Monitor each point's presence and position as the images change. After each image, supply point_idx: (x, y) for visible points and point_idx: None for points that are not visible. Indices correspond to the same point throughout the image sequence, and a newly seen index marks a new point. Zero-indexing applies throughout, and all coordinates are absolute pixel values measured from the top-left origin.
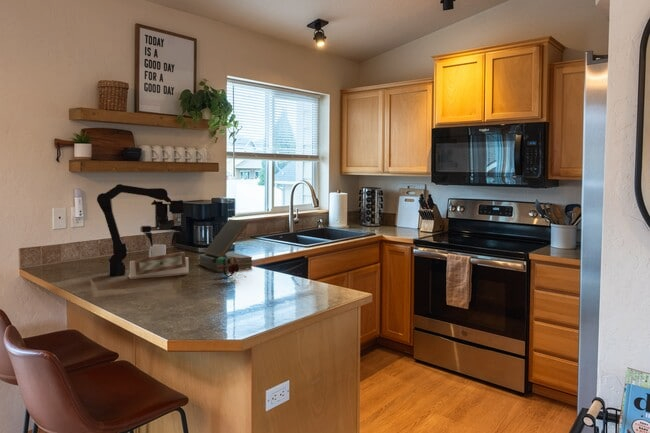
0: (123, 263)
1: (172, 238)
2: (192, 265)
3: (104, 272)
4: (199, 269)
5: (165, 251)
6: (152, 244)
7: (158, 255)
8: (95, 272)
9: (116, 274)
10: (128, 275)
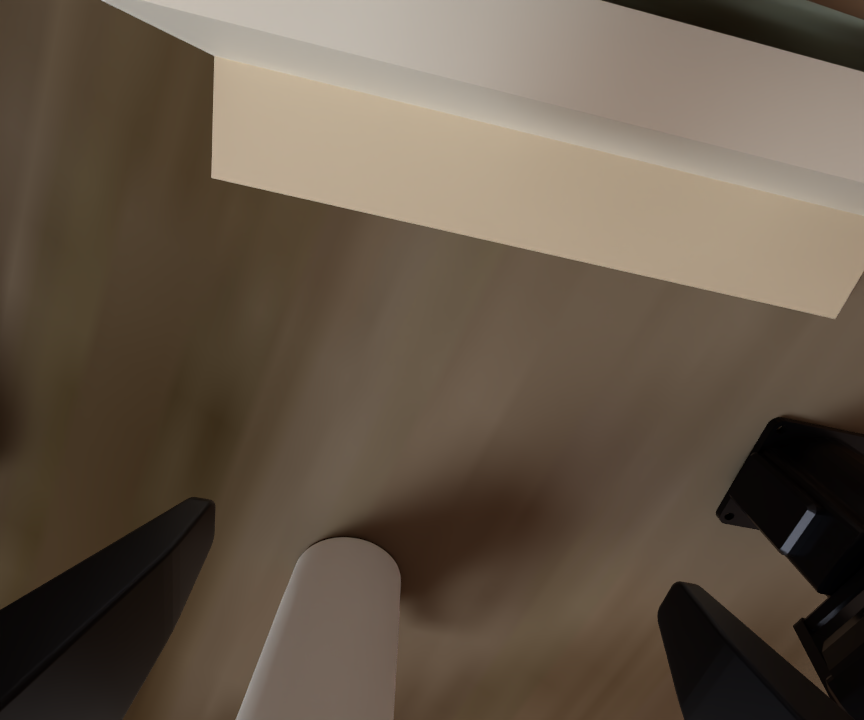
0: (856, 523)
1: (12, 685)
2: (40, 532)
3: (766, 629)
4: (14, 277)
5: (242, 716)
6: (720, 625)
7: (351, 663)
8: (804, 660)
9: (846, 445)
10: (833, 313)
